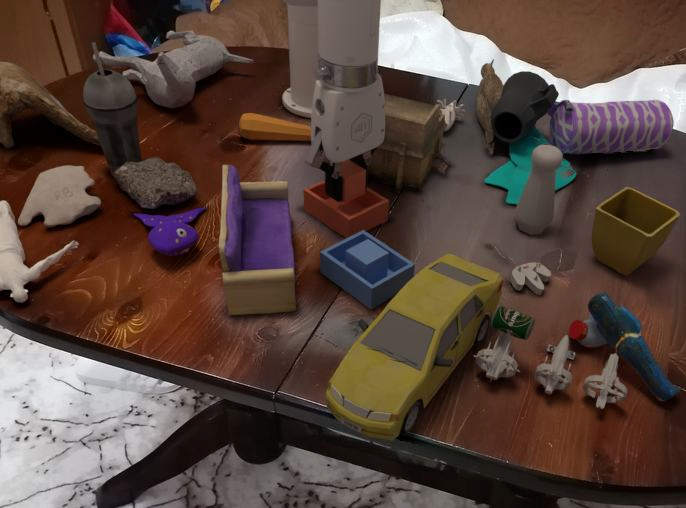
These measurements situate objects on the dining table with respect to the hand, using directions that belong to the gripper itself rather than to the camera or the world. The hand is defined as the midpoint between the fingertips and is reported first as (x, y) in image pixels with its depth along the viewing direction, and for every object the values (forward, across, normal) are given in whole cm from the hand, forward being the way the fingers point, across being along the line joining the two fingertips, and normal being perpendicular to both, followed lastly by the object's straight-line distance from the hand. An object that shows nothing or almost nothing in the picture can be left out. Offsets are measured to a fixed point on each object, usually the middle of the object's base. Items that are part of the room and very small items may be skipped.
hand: (346, 190), depth 105 cm
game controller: (+4, +10, -25) cm, 27 cm away
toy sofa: (+4, -17, -2) cm, 18 cm away
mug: (-3, +43, -1) cm, 43 cm away
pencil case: (0, +47, -18) cm, 50 cm away
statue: (-3, +4, +57) cm, 57 cm away
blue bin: (+4, -8, -13) cm, 16 cm away
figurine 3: (+3, +3, -54) cm, 54 cm away
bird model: (+3, +44, +5) cm, 44 cm away
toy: (+4, -23, +11) cm, 26 cm away
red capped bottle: (+2, +10, -42) cm, 44 cm away
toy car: (+4, -15, -29) cm, 33 cm away
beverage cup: (+4, -18, +30) cm, 35 cm away
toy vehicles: (+4, -4, -41) cm, 41 cm away
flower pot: (+4, +23, -34) cm, 41 cm away
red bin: (+4, 0, 0) cm, 4 cm away
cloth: (+4, +34, -10) cm, 36 cm away
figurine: (+1, -40, +27) cm, 48 cm away
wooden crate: (+4, +16, +4) cm, 17 cm away
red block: (0, 0, 0) cm, 0 cm away
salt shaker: (+4, +20, -20) cm, 28 cm away
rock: (+7, -19, +46) cm, 50 cm away
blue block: (+3, -8, -13) cm, 16 cm away
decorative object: (+3, -31, +21) cm, 38 cm away
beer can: (-3, -7, -34) cm, 34 cm away
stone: (+5, -18, +21) cm, 28 cm away
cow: (-1, +31, +8) cm, 32 cm away
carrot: (+5, +8, +21) cm, 23 cm away
